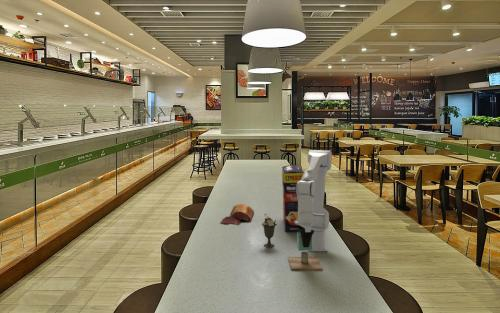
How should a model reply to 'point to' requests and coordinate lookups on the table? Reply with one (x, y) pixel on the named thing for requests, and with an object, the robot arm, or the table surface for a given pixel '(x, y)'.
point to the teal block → (300, 244)
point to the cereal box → (290, 196)
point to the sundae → (269, 230)
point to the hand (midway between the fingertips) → (304, 244)
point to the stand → (304, 263)
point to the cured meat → (239, 215)
